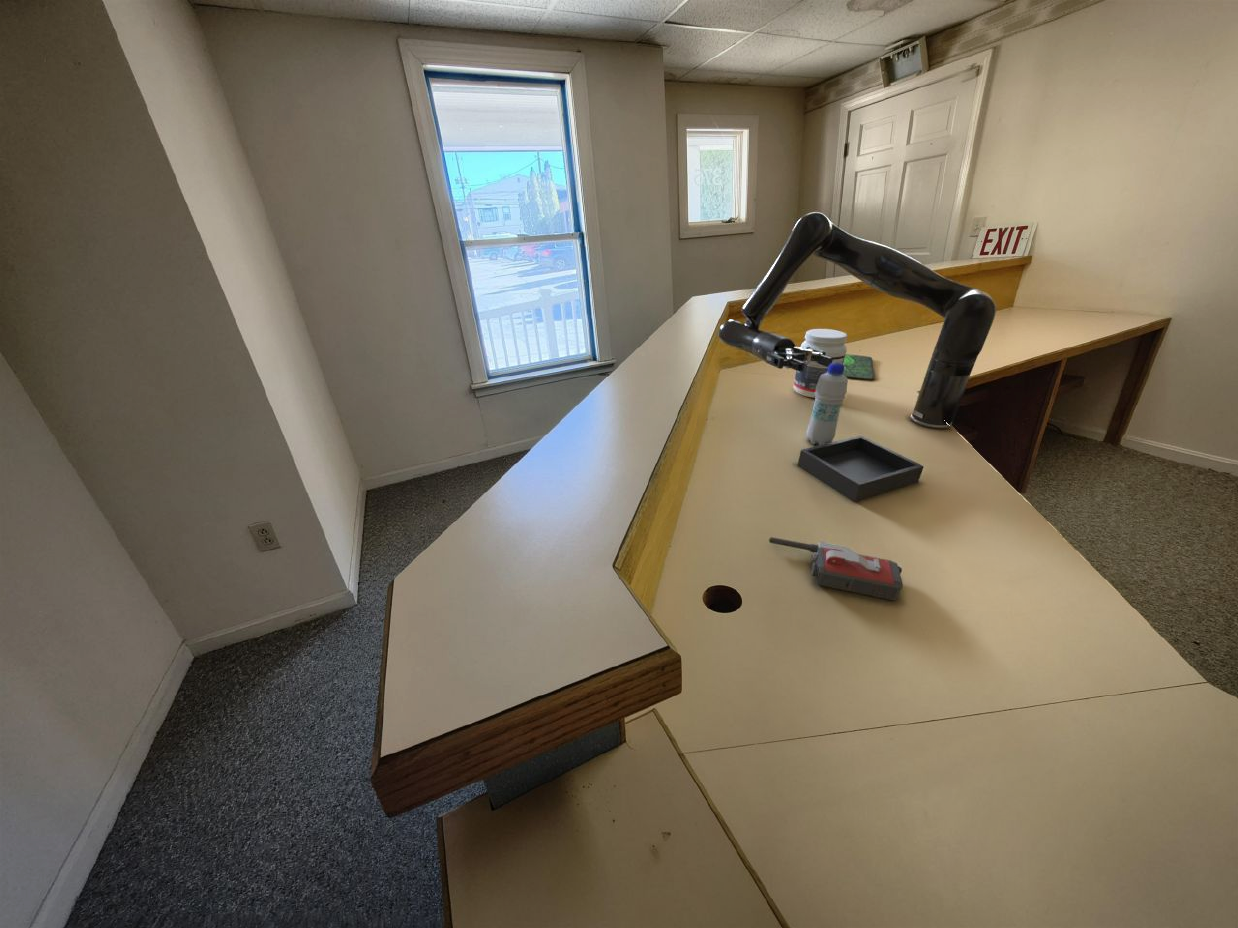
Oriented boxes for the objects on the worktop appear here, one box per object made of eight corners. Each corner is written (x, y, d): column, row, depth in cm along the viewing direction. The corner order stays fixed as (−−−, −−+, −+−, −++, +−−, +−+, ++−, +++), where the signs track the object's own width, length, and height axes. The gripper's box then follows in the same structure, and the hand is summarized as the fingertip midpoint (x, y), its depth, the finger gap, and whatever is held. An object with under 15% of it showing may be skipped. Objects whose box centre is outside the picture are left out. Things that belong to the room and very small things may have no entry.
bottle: (835, 449, 109) (856, 368, 99) (806, 447, 110) (824, 367, 100) (830, 437, 115) (849, 359, 105) (802, 435, 116) (818, 358, 106)
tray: (856, 450, 108) (860, 435, 106) (917, 482, 96) (924, 466, 94) (797, 465, 102) (800, 449, 100) (854, 502, 90) (859, 484, 88)
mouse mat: (874, 380, 150) (875, 378, 150) (804, 373, 158) (805, 370, 157) (871, 358, 172) (871, 355, 171) (809, 352, 180) (810, 350, 179)
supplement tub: (795, 383, 149) (805, 326, 140) (837, 388, 145) (851, 330, 135) (789, 396, 139) (800, 336, 130) (834, 402, 135) (849, 340, 125)
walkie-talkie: (895, 566, 74) (768, 541, 79) (904, 545, 71) (772, 521, 77) (906, 605, 66) (765, 575, 72) (916, 583, 64) (769, 554, 70)
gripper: (752, 337, 117) (796, 353, 104) (796, 331, 121) (843, 346, 108) (748, 365, 120) (790, 384, 107) (791, 359, 125) (836, 376, 112)
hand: (817, 365), depth 108 cm, fingers open, 8 cm apart
